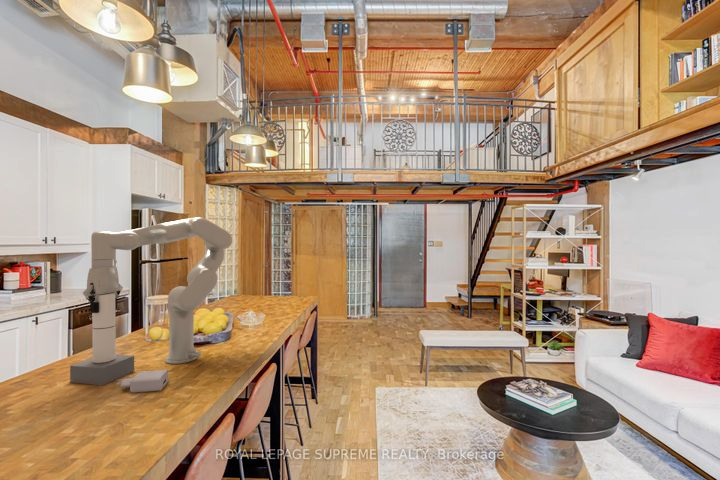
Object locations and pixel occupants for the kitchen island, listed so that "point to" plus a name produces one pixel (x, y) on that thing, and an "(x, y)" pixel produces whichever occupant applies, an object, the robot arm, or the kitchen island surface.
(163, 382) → the charger
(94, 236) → the robot arm
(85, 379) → the charcoal block
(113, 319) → the cylindrical container
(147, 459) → the kitchen island surface
